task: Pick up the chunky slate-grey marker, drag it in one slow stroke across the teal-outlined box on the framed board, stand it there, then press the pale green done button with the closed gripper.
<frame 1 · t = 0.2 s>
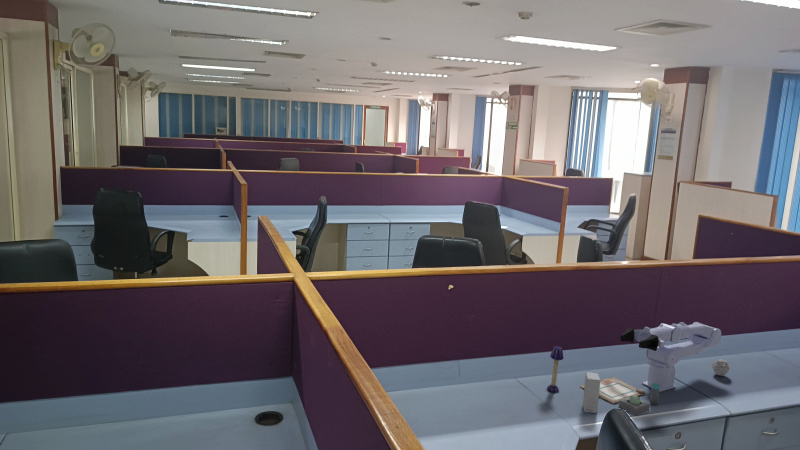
hand: (630, 341, 203), 21 cm above the table, tool horizontal, fingers open, 7 cm apart
toy lamp: (553, 390, 210), on the table
done button: (634, 401, 197), point 2 cm above the table, slide at 0.0 cm
marker: (653, 403, 202), on the table
framed board: (612, 390, 211), on the table
grey lumpy rounded piece: (719, 376, 228), on the table
skincare box: (589, 409, 197), on the table
button housing: (633, 408, 198), on the table
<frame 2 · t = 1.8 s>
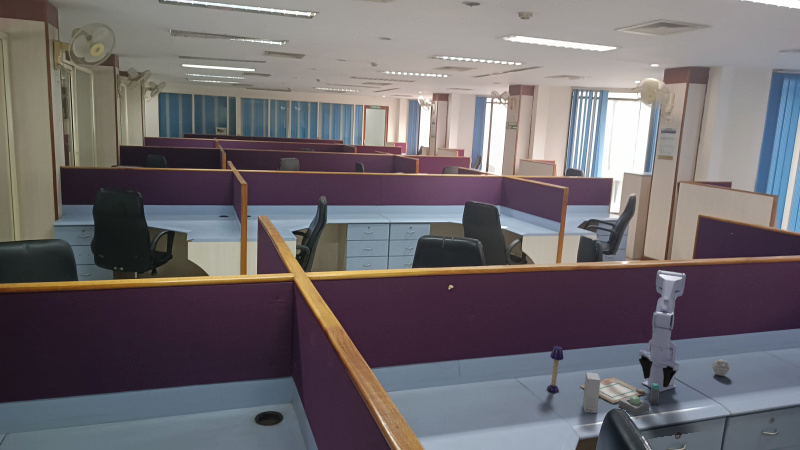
hand: (656, 382, 201), 8 cm above the table, tool pointing down, fingers open, 7 cm apart
nothing on the table moved.
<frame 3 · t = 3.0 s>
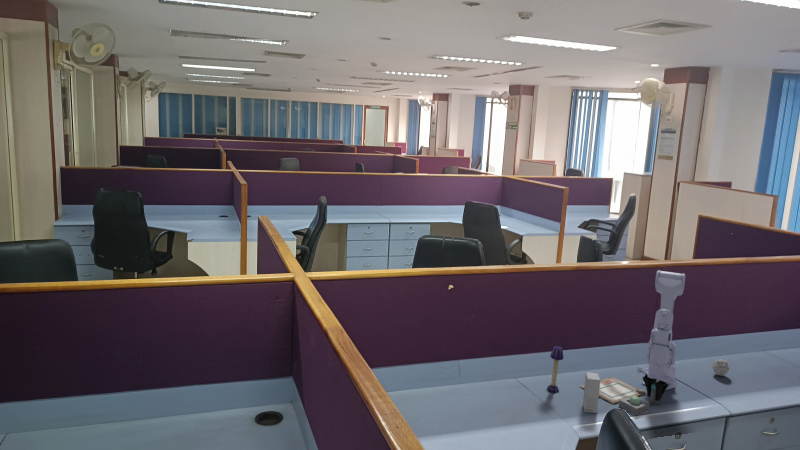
hand: (654, 398, 202), 2 cm above the table, tool pointing down, fingers closed on marker, 3 cm apart
marker: (653, 403, 202), on the table, touching gripper
everything else where it was.
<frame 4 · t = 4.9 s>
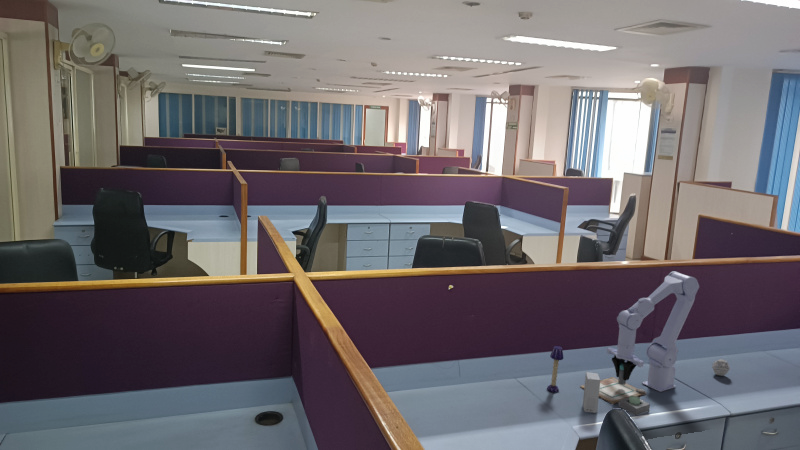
hand: (622, 378, 211), 5 cm above the table, tool pointing down, fingers closed on marker, 3 cm apart
marker: (621, 383, 211), point 3 cm above the table, touching gripper
everything else where it was.
when the fingers open (3 cm above the table, at t = 7.1 s): marker stays where it is, resting on framed board.
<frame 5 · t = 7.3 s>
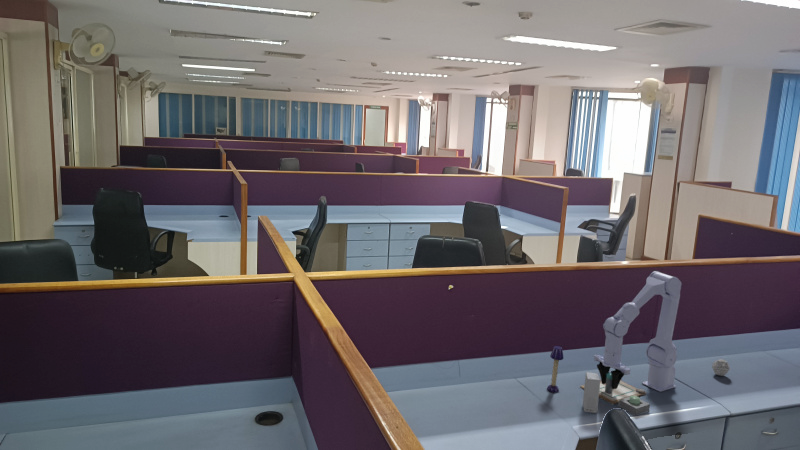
hand: (609, 385, 208), 3 cm above the table, tool pointing down, fingers open, 4 cm apart
marker: (608, 392, 208), point 1 cm above the table, touching framed board
everything else where it was.
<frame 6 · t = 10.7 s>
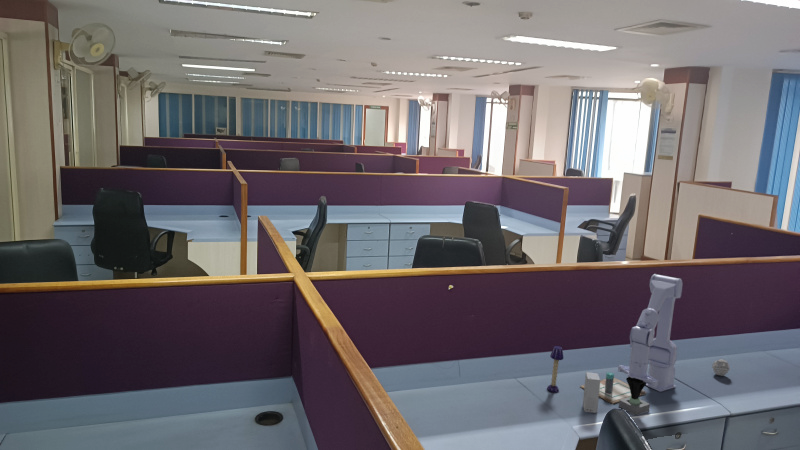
hand: (634, 398, 197), 4 cm above the table, tool pointing down, fingers closed, pressing on done button
done button: (634, 402, 197), point 2 cm above the table, slide at 0.1 cm, touching gripper
everything else where it was.
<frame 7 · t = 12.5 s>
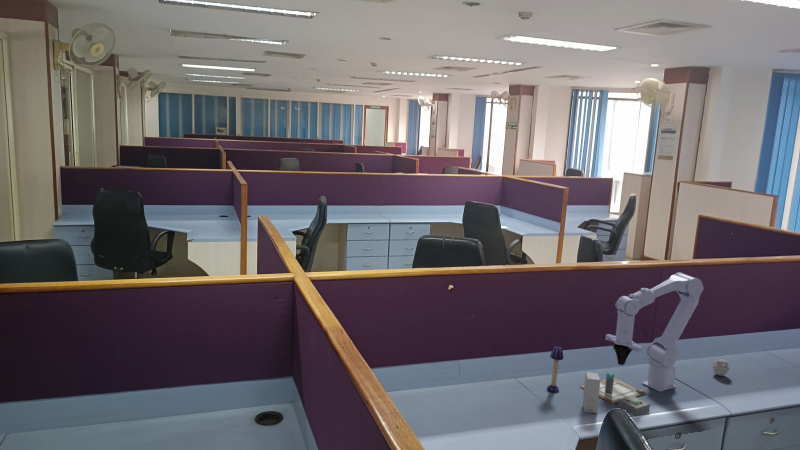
hand: (621, 364, 211), 10 cm above the table, tool pointing down, fingers closed
done button: (634, 404, 197), point 2 cm above the table, slide at 0.9 cm
everything else where it was.
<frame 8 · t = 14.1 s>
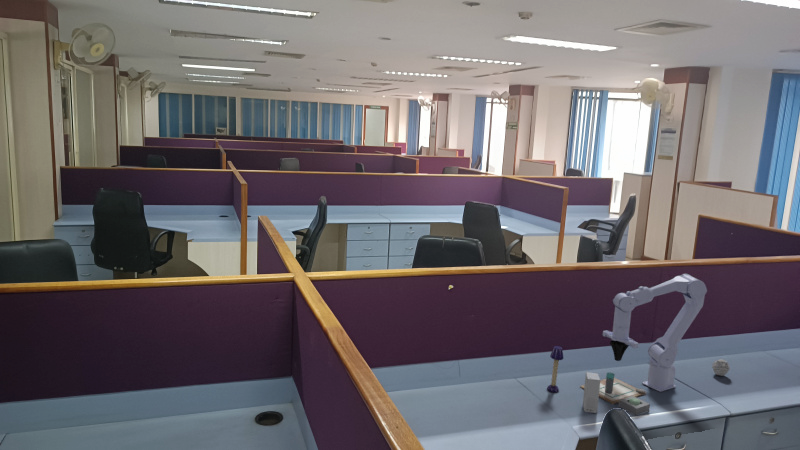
hand: (617, 360, 215), 10 cm above the table, tool pointing down, fingers closed
nothing on the table moved.
at the end: marker inside the target area (3.6 cm from its centre), point 0.6 cm above the table; the gripper is holding nothing; done button slide at 0.9 cm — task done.
